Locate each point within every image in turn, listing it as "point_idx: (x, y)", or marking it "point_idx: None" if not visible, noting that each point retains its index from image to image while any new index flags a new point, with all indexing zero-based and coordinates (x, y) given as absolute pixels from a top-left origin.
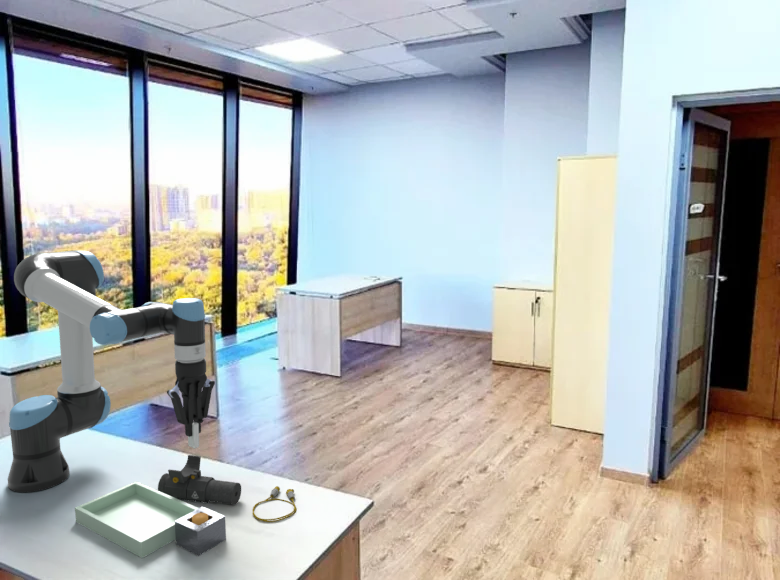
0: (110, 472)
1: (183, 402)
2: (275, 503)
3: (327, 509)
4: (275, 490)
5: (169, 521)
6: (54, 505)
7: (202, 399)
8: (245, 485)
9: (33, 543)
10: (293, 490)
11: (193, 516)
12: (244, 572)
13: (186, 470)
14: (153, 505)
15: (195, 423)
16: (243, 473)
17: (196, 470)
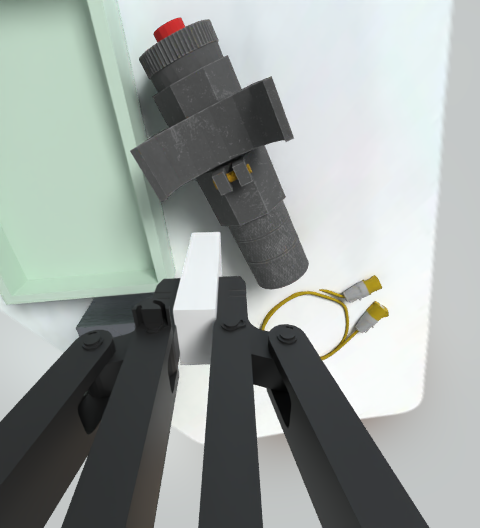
0: None
1: (74, 505)
2: (329, 313)
3: (362, 385)
4: (361, 297)
5: (114, 222)
6: None
7: (324, 484)
8: (361, 200)
9: None
10: (386, 315)
11: None
12: None
13: (226, 123)
14: (112, 108)
15: (201, 358)
16: (420, 132)
17: (242, 170)
